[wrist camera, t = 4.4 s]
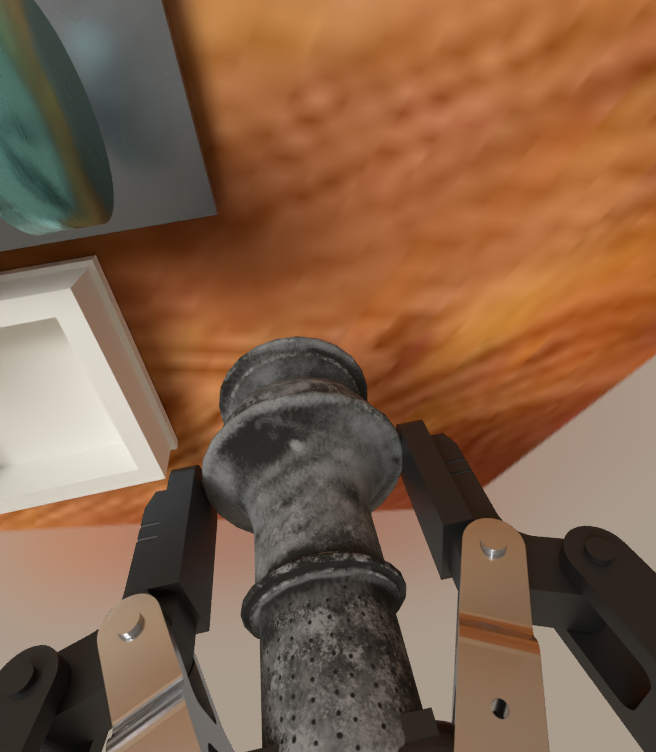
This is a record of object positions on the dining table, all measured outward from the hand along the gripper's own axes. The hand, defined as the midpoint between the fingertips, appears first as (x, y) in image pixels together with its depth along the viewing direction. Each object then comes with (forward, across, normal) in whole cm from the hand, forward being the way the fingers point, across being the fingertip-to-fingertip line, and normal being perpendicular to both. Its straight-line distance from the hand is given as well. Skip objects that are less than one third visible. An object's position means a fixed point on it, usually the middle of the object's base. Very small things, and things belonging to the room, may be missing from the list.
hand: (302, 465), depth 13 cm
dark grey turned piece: (+3, 0, 0) cm, 3 cm away
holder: (+10, +13, +1) cm, 16 cm away
